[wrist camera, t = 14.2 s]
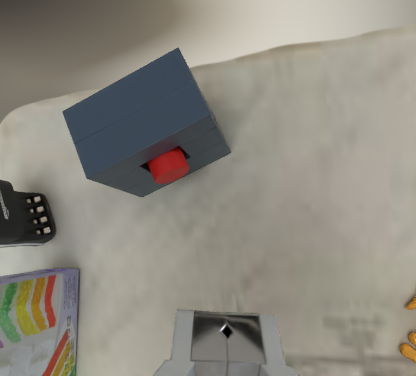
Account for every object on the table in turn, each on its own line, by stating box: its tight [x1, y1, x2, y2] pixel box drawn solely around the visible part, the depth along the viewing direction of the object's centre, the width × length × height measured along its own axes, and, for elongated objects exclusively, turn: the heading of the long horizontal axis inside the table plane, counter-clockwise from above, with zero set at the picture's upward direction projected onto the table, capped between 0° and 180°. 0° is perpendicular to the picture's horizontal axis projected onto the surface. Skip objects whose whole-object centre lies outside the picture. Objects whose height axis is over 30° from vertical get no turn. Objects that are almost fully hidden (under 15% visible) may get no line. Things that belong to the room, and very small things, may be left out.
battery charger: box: [0, 180, 55, 248], centre depth 37 cm, size 7×4×11 cm, turn 24°
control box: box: [63, 48, 231, 197], centre depth 35 cm, size 7×12×12 cm, turn 114°
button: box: [147, 146, 189, 184], centre depth 33 cm, size 3×4×4 cm
